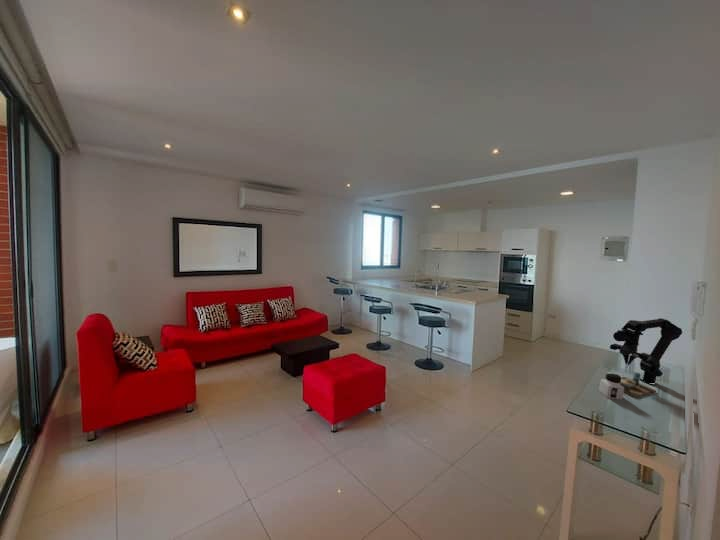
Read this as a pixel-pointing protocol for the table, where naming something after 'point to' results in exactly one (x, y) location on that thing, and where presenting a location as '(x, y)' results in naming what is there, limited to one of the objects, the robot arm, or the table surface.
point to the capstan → (632, 381)
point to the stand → (635, 392)
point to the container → (612, 386)
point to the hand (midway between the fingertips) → (627, 364)
